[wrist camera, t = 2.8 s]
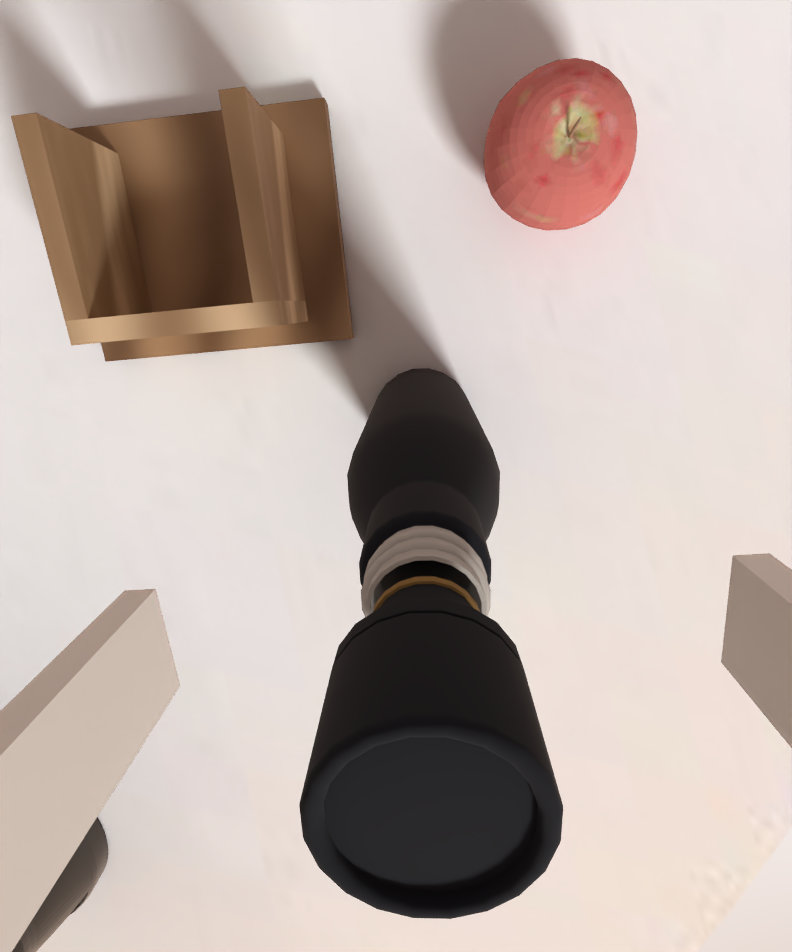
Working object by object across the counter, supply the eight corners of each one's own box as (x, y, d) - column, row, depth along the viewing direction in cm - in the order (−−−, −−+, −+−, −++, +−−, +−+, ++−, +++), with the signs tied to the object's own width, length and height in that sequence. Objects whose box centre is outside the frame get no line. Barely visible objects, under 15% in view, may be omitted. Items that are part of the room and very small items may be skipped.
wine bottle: (398, 351, 35) (308, 560, 7) (486, 393, 36) (755, 754, 7) (358, 438, 37) (154, 895, 8) (443, 477, 38) (518, 1026, 9)
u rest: (115, 359, 36) (31, 375, 28) (61, 137, 32) (-53, 84, 24) (353, 337, 35) (334, 347, 27) (327, 105, 31) (296, 38, 23)
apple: (476, 101, 31) (494, 34, 23) (608, 90, 30) (671, 19, 23) (477, 242, 33) (494, 224, 25) (600, 234, 33) (655, 213, 25)
